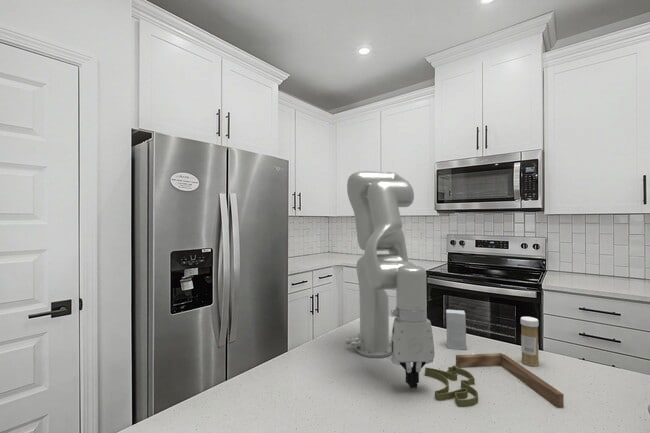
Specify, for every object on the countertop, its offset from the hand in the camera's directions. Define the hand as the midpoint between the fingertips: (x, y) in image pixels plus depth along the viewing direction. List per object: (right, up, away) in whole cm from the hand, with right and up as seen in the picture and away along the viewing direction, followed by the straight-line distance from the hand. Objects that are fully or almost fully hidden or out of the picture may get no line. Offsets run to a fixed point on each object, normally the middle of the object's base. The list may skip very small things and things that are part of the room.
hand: (412, 385), depth 84 cm
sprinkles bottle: (+39, -1, +14) cm, 41 cm away
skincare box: (+22, -1, +27) cm, 35 cm away
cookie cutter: (+11, -1, +1) cm, 11 cm away
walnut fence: (+24, -1, +2) cm, 24 cm away
